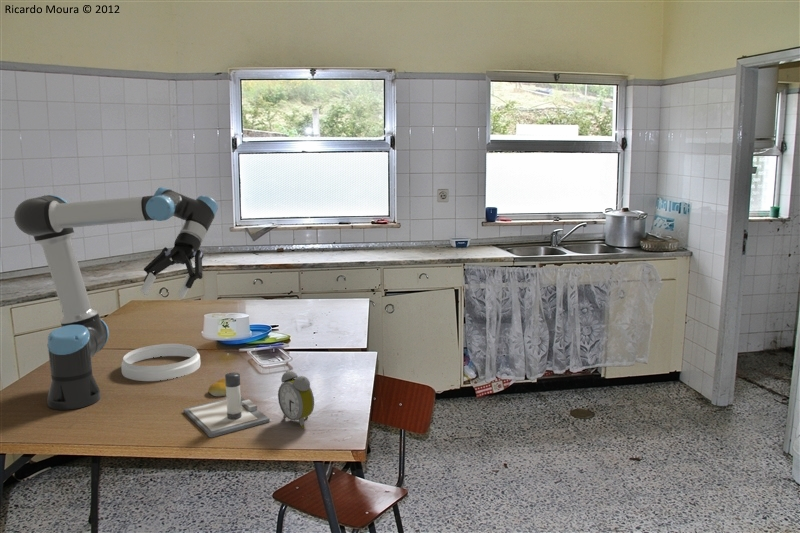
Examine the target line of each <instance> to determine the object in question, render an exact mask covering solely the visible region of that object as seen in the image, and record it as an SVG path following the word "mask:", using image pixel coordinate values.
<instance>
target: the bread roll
mask: <svg viewBox="0 0 800 533" xmlns="http://www.w3.org/2000/svg"><path fill="white" fill-rule="evenodd" d="M208 393H209V394H210V395H211V396H213V397H226V383H225V378H221V379H218V380H217V381H216V382H215V383H212V384H211V385H210V386H208Z"/></svg>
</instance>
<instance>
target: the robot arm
mask: <svg viewBox="0 0 800 533" xmlns="http://www.w3.org/2000/svg"><path fill="white" fill-rule="evenodd" d="M218 209H219V205H218V203H217V202H216V200H215V199H213V198H212V197H210V196H207V195H199V196H198V197H197V198H191V197H188V196H186V195H183V194H182V193H180V192H177V191H174V190H172V189H170V188H166V187H163V186H159V187H158V188H157V189H156V191H155V192H154V195H146V196H135V197H133V196H132V197H123V198H108V199H99V200H98V199H95V200H86V201H72V202H68V201H67V199H65V198H63V197H61V196H59V195H54V194H51V195H50V194H47V195H45V194H44V195H42V196H37V197H31V198H28V199H25V200H23V201H22V202H21V203H19V204H18V206H16V209H15V210H14V216H13V218H14V223H15V225H16V227H17V228H18V229H19V230H20V231H21V232H22V233H25V235H29V236H31V237H32V236H33V239H34V242H35V243H37V244H39V245H41V247H42V251H43V253H44V256H45V259H46V263H47V266H48V268H49V272H50V275H51V278H52V282H53V285H54V287H55V291H56V296H57V298H58V301H59V304H60V306H61V311H62V314H63V316H62V319H61V320H60V325H61V327H57V328H55V329H53V330H52V331H51V332H50V333H49V334H48V336H47V351H48V357H49V359H48V360H49V368H50V376H51V377H50V378H51V382H50V386H49V390H48V393H47V398H46V400H47V401H46V402H47V406H48V407H49V408H50V409H52V410H58V411H65V410H66V411H68V410H69V411H70V410H76V409H81V408H86V407H88V406H91V405H93V404H95V403H97V402H98V401H99V400H101V389H100V387H99V385H98V383H97V381H96V379H95V377H94V375H93V374H94V373H93V364H92V363H93V362H92V358H93V357H94V356H95V355H96V354H97V353H98V352H101V350H102V349H103V348H104V347H105V346H106V344H107V342H108V340H109V337H110V332H109V331H110V330H109V327H108V325H107V323H106V322H105V321H104V320H102V319H101V318H100V313H99V311H97V310H96V309H93V308H92V306H91V302H90V298H89V295H88V292H87V289H86V286H85V285H86V284H85V282H84V278H83V275H82V272H81V269H80V266H79V262H78V259H77V255H76V251H75V248H74V246H73V245H74V244H73V241H72V238H73V236H74V234H75V231H74V229H75V228H83V227H92V226H93V227H95V226H101V225H103V226H105V225H114V224H115V225H116V224H126V223H136V222H147V221H148V222H149V221H157V222H162V221H163V222H164V221H167V220H169V219H170V218H172V217H175V218H178V219H181V220H183V221H184V223H183V225H182V227H181V229H180V231H179V233H178V234H177V237H176V238H175V241H174V242H173V243H174V246H173V248H171V249H168V248H167V247H165V246H164V248H163V249H162V250H161V252H160V253H158V255H156V257H155V258H153V260H151V261H150V262H149V263H148V264H147V265H146V266H145V267H144V268H143V271H144V272H145V273H146V276H145V278H144V280H143V284H142V286H141V287H140V291H141V293H142V294H144V296H147V295H149V294H148V293H149V292H150V290H151V288H152V286H153V284H154V282H155V280H156V278H157V277H156V275H158V274H159V273H162V271H164V270H165V269H167V268H168V267H171V266H175V264H176V265H179V264H180V265H185V266H186V267H185V268H186V270H187V273H188V275H186V276H185V277H184V280H183V282H182V284H181V285H180V287H179V290H178V292H177V295H178V296H179V297H180V298H181V299H182V300H183V299H185V297H186V296H187V293H188V291H189V290H190V289H191V288H193V287H192V286H193V284H194V282H195V281H196V280H197V279H199V280H202V279H203V258H204V253H203V252H202V251H201V249H200V247H201V245H202V242H203V241H204V239H205V237H206V235H207V233H208V231H209V229H210V227H211V225H212V223H213V222H214V219H215V217H216V214H217V212H218ZM193 258H194V267H193V263H192V259H193Z"/></svg>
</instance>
